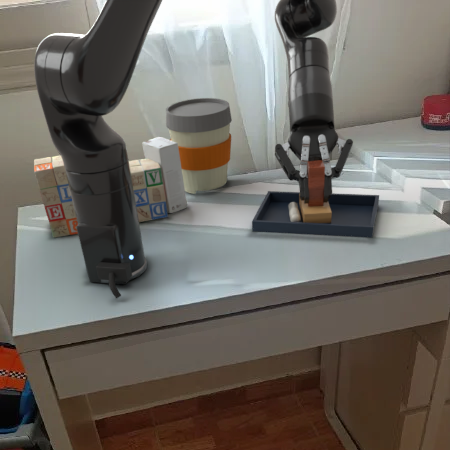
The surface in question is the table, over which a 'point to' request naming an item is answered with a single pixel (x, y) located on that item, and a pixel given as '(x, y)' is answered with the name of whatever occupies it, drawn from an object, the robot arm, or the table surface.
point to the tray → (340, 223)
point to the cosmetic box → (168, 170)
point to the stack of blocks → (62, 201)
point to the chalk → (294, 212)
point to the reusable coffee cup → (201, 141)
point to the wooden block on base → (315, 196)
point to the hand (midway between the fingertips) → (316, 200)
